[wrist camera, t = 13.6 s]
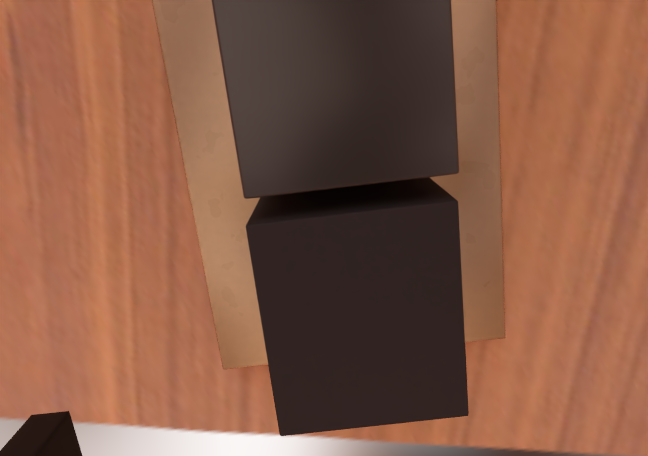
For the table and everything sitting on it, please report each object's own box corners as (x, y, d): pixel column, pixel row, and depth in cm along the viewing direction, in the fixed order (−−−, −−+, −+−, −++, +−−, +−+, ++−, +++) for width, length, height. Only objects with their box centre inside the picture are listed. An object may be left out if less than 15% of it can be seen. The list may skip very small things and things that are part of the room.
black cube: (420, 168, 20) (458, 200, 14) (431, 334, 21) (469, 416, 16) (264, 187, 20) (245, 225, 14) (289, 350, 22) (279, 437, 16)
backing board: (483, -79, 18) (572, -167, 12) (496, 325, 23) (567, 421, 16) (153, -36, 19) (66, -100, 12) (227, 356, 23) (192, 461, 16)
